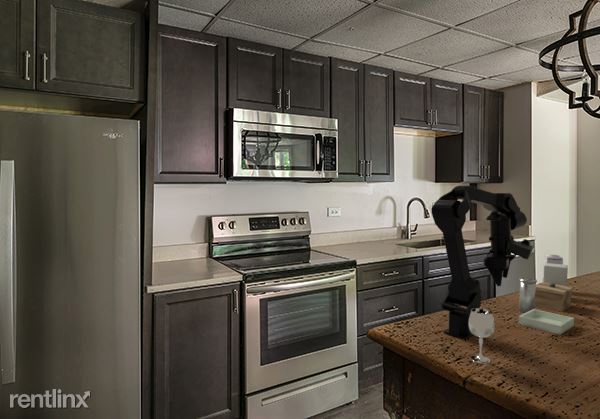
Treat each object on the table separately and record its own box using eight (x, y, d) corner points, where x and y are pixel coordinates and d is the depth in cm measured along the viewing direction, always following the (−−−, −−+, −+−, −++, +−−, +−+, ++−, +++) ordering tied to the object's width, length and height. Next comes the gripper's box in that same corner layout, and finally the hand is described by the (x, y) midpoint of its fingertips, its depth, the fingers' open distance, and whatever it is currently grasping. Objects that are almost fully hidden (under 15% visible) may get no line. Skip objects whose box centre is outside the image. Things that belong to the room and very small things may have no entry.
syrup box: (562, 293, 154) (564, 257, 153) (545, 292, 156) (546, 256, 155) (559, 290, 159) (560, 254, 158) (542, 288, 161) (543, 254, 160)
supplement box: (565, 302, 143) (567, 267, 142) (542, 298, 147) (543, 265, 147) (567, 297, 149) (568, 264, 148) (544, 294, 153) (545, 262, 153)
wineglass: (463, 359, 95) (464, 311, 95) (473, 352, 100) (474, 306, 99) (488, 367, 91) (489, 316, 91) (497, 359, 95) (498, 311, 95)
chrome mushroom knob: (532, 315, 128) (533, 282, 128) (515, 311, 133) (516, 279, 132) (538, 311, 132) (539, 279, 131) (521, 308, 136) (522, 276, 135)
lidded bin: (562, 312, 131) (563, 289, 131) (531, 305, 139) (531, 283, 139) (572, 306, 138) (573, 284, 137) (541, 300, 145) (542, 279, 145)
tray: (560, 334, 111) (560, 326, 111) (518, 324, 120) (518, 316, 120) (573, 325, 118) (574, 317, 118) (533, 316, 127) (533, 308, 127)
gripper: (525, 240, 109) (526, 294, 111) (534, 228, 124) (535, 276, 126) (482, 238, 116) (484, 289, 118) (496, 227, 131) (497, 272, 132)
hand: (502, 281), depth 123 cm, fingers open, 9 cm apart
